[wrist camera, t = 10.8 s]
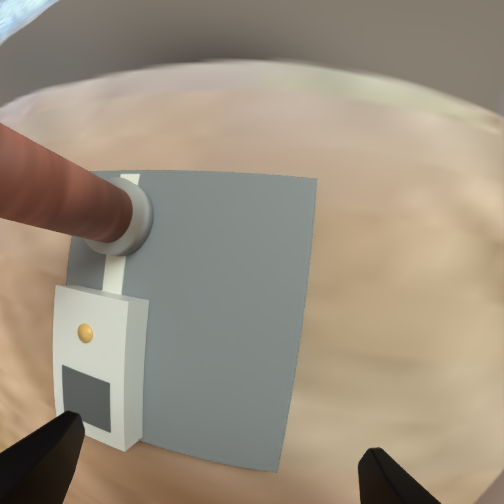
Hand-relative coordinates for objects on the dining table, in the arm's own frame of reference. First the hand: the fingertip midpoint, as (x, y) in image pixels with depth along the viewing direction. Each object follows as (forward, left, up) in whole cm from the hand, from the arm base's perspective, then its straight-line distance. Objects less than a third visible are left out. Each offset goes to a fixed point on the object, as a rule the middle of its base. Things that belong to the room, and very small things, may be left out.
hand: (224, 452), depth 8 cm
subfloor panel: (+2, +7, -11) cm, 13 cm away
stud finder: (-2, +11, -10) cm, 15 cm away
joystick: (+8, +11, -10) cm, 17 cm away
